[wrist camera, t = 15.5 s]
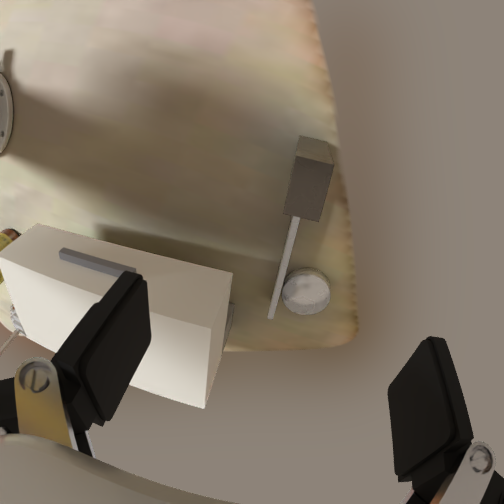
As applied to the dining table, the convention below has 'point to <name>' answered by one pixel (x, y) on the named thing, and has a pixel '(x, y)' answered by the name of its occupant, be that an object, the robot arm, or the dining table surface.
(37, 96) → the dining table surface
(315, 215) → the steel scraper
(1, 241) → the sauce bottle
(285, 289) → the steel puck
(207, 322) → the cabinet
